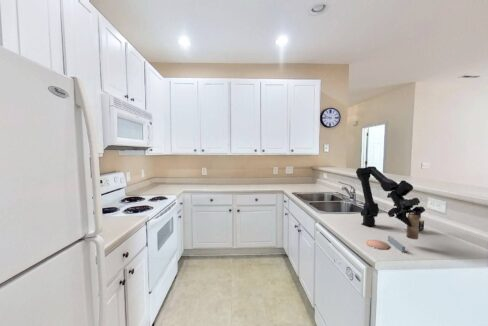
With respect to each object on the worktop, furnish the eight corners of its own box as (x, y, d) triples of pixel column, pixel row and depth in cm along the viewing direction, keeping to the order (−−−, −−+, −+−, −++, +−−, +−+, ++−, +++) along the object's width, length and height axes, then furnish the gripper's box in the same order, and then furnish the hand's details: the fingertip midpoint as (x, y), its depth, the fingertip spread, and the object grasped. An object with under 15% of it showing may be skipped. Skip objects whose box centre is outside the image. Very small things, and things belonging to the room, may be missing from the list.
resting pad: (364, 239, 131) (364, 238, 131) (386, 242, 127) (386, 241, 127) (367, 247, 121) (367, 246, 121) (391, 250, 117) (391, 249, 117)
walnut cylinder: (404, 236, 123) (405, 214, 123) (410, 235, 125) (411, 213, 125) (414, 240, 119) (415, 217, 118) (420, 238, 121) (421, 216, 120)
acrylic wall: (387, 241, 129) (387, 235, 129) (389, 241, 129) (390, 235, 129) (402, 252, 115) (402, 246, 115) (404, 252, 115) (404, 246, 115)
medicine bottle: (415, 232, 142) (416, 213, 141) (404, 228, 148) (405, 210, 148) (423, 231, 143) (424, 212, 143) (412, 227, 150) (413, 209, 150)
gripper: (392, 193, 123) (409, 219, 113) (423, 191, 126) (442, 218, 116) (381, 203, 131) (395, 229, 121) (410, 202, 134) (426, 227, 124)
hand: (415, 226), depth 120 cm, fingers closed on walnut cylinder, 5 cm apart
